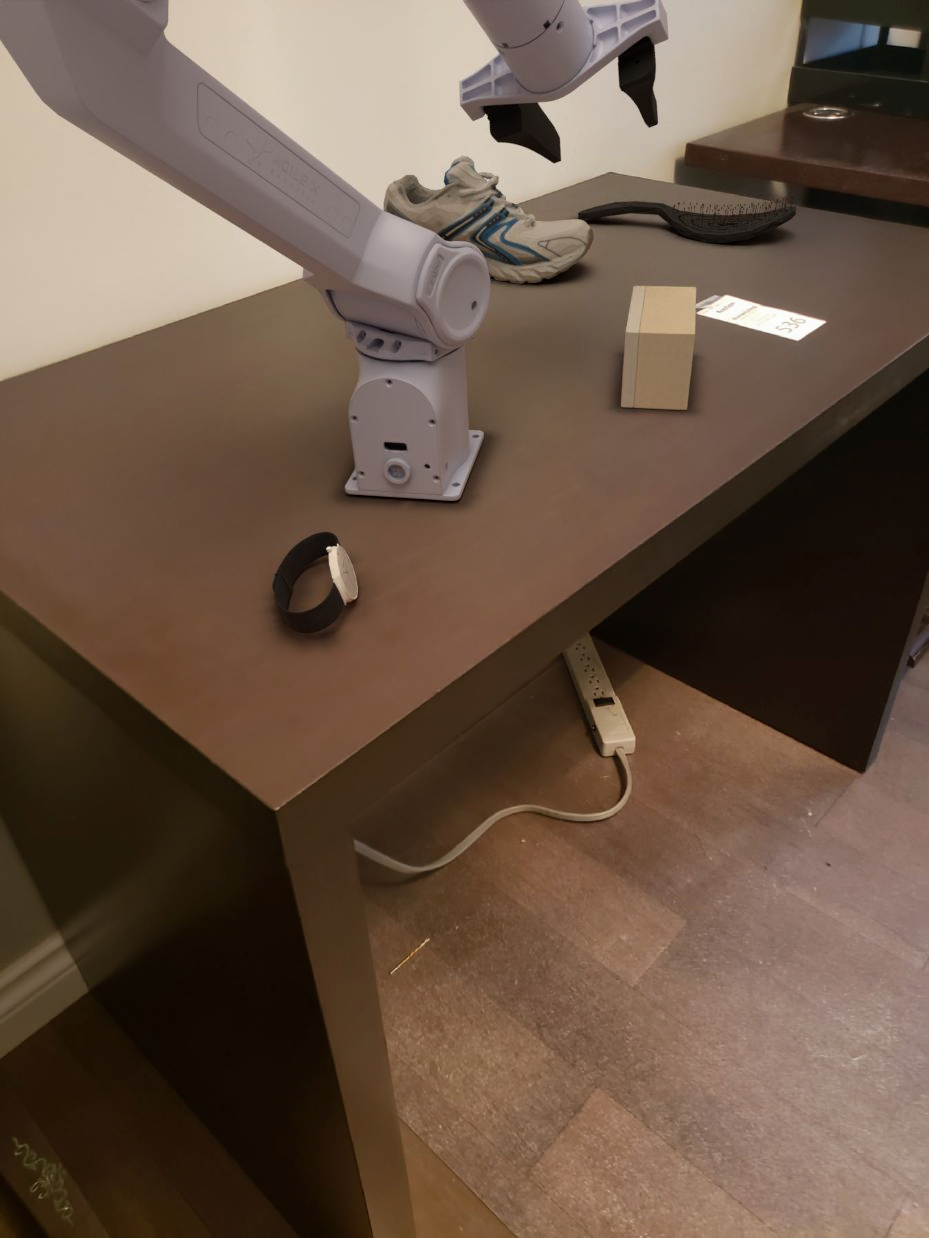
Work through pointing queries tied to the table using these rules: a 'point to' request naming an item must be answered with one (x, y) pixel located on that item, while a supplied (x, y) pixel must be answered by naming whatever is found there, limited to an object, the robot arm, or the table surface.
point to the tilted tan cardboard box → (659, 347)
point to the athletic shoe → (490, 224)
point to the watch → (341, 576)
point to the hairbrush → (702, 219)
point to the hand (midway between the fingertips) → (603, 133)
